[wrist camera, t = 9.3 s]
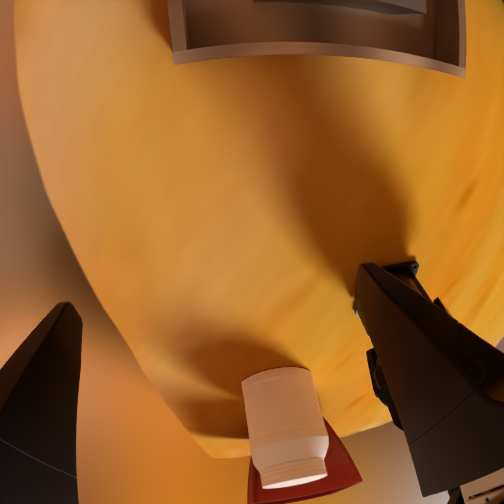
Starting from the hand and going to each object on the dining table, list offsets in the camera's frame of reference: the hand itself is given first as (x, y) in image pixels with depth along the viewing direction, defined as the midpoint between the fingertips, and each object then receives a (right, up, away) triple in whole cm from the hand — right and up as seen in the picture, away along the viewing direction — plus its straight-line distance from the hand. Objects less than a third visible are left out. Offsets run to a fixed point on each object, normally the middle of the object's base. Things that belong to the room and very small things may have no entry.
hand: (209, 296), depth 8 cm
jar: (+5, -18, +32) cm, 37 cm away
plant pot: (+8, -35, +46) cm, 58 cm away
